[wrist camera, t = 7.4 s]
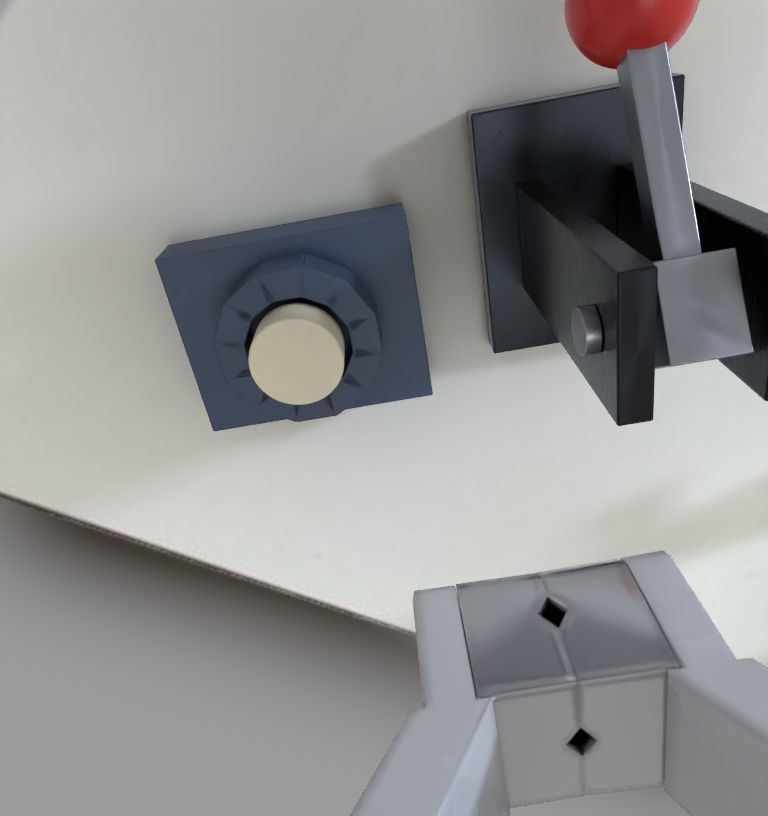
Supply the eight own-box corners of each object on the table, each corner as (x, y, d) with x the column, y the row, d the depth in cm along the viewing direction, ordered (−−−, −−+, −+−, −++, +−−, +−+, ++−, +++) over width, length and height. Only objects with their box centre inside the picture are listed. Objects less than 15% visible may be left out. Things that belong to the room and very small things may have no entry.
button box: (168, 245, 28) (141, 274, 25) (402, 202, 28) (409, 225, 24) (221, 408, 32) (205, 453, 28) (428, 373, 31) (437, 415, 28)
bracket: (465, 111, 26) (550, 164, 15) (672, 72, 26) (918, 97, 14) (489, 343, 31) (566, 515, 20) (662, 313, 30) (842, 472, 19)
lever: (543, -13, 21) (571, -103, 17) (660, -36, 20) (713, -131, 17) (609, 376, 20) (651, 370, 17) (728, 356, 20) (795, 345, 17)
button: (243, 311, 26) (236, 327, 24) (334, 294, 26) (333, 310, 24) (267, 391, 28) (261, 412, 26) (352, 377, 27) (352, 397, 26)
